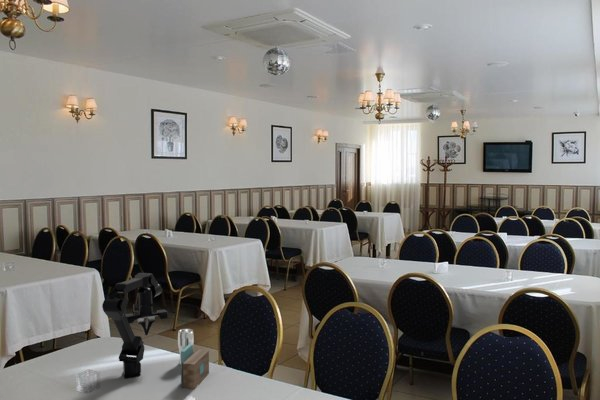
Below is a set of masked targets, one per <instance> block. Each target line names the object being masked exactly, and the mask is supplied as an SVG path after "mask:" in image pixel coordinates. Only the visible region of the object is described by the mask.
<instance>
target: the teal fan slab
mask: <svg viewBox="0 0 600 400" xmlns="http://www.w3.org/2000/svg"><path fill="white" fill-rule="evenodd" d="M193 352H194V343H193V344H189V345H188V346H187V347H185V348H184V349H183V350H182V351H181V363H182V362H183V361H184V360H186V359H187V358H188V357H189V356H190V355H191V354H192V353H193ZM203 372H204V362H203V363H202V364H201V365H200V375H201V374H202V373H203ZM180 383H181V384H182V375H181V374H180Z"/></svg>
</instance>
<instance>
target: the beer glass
mask: <svg viewBox="0 0 600 400" xmlns="http://www.w3.org/2000/svg"><path fill="white" fill-rule="evenodd" d="M177 331H178V332H177V333H178V334H177V347H178V351H179V361H178V362H179V363H178V365H179V366H181V351H182V350H183V349H184V348H185V347H187V346H188V345H189V344H193V345H194V341H195V340H194V336H195V335H194V329H191V328H181V329H179V330H177Z"/></svg>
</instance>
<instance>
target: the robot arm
mask: <svg viewBox="0 0 600 400" xmlns="http://www.w3.org/2000/svg"><path fill="white" fill-rule="evenodd" d="M136 289H137V290H136ZM134 290H136V294H138V303H133V305H132V306H133V307H132V308H133V309H132V310H133V312H137V314H136V315H134V313H133V312H131V313H126V312H127V308H128V307H127V306H128V304H129V295H128V294H129V292H131V291H134ZM162 291H163V288H162V286H161V285H160V284H159V281H157V280H156V278H155V275H154V274H153V273H149V272H148V273H147V272H138V273H136V275H134V277H133V278H131V279H128V280H125V281H121V282H118V283H116V284H115V285H114V287H113V288H112V290H110V291H109V292H108V293H107V294H106V296H105V297H104V300H103V303H102V305H101V308H102V311H103V313H104V314H105V315H106V316H107V317H108V318H110V319H112V320H113V323H114V324H115V327H116V329H117V331H118V333H119V336H120V337H121V340H122V342H123V343H122V345H121V351H120V353H119V356H118V361H119V362H122V365H123V366H122V375H123V378H124V379H128V378H129V379H130V378H135V377H140V376H141V373H142V363H141V361H142V360H144V356H145V355H144V354H145V345H144V341H143V340H142V339H143V338H142V337H141V336H140V335H135V333H134V331H133V329H132V327H131V324H133V323H134V322H135V320H136V323H137V324H138V325H141V328H142V330H143V332H144V335H145V336H148V334H149V331H150V329H151V327H152V325H153V324H154V323H155V322H156V319H155V318H159V319H161V320H165V319H169V313H168V311H167V310H166V309H158V310H156V312H153V299H154V298H155V297H157V296H159V295H160V294H162ZM119 294H123V297H122V298H116V296H117V295H119ZM145 319H146V320H145Z"/></svg>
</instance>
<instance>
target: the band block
mask: <svg viewBox="0 0 600 400" xmlns="http://www.w3.org/2000/svg"><path fill="white" fill-rule="evenodd" d="M203 362H204V372H203V373H202V374H201V375H200V365H201V364H202V363H203ZM209 374H210V350H209V349H208V350H206V349H195V350H194V351H193V353H192V354H191V355H190V356H189V357H188V358H187V359H186V360H184V361H183V362H182V363H181V365H180V376H181V375H182V383H181V388H182V389H196V388H197V387H198V386H197V385H200V383H202V381H203V380H204V379H205V378H206V377H207V376H208V375H209Z"/></svg>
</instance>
